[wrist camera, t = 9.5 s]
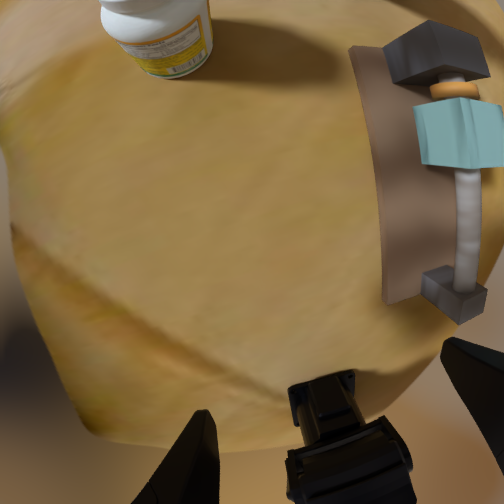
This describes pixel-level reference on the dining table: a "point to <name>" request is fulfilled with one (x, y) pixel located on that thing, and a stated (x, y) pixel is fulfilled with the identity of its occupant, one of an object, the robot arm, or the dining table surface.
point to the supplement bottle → (161, 33)
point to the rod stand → (423, 168)
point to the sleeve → (460, 133)
